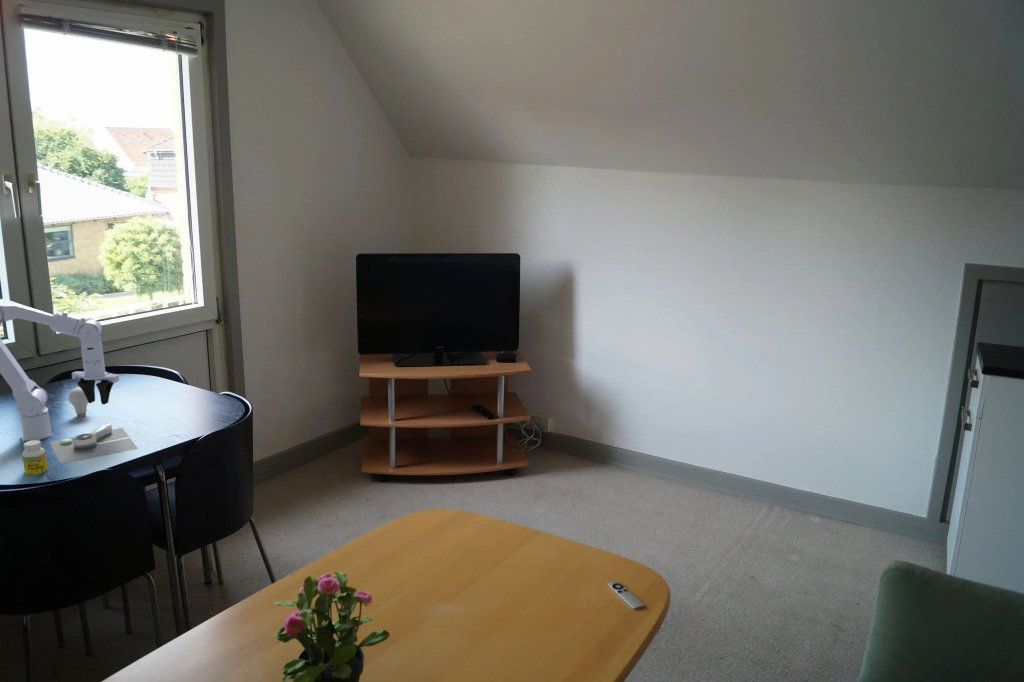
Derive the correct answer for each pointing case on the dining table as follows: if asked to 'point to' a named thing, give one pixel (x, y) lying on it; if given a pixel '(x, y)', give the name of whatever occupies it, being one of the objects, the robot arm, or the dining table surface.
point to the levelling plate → (105, 446)
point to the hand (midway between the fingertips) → (98, 402)
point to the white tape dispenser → (91, 438)
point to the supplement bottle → (34, 458)
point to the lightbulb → (78, 401)
